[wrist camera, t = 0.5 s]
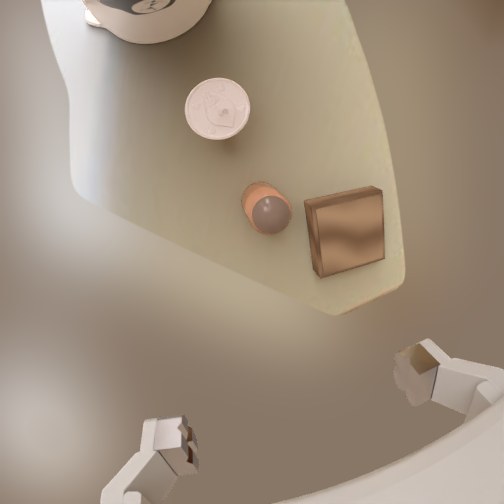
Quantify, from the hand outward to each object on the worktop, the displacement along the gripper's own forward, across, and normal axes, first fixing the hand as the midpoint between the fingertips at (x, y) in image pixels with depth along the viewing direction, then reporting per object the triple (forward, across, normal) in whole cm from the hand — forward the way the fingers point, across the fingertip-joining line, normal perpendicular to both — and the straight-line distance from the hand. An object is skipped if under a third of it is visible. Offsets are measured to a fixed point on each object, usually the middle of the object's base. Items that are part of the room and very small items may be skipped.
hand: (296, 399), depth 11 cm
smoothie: (+33, -1, -14) cm, 35 cm away
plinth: (+34, -16, +6) cm, 39 cm away
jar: (+34, -5, -1) cm, 34 cm away
